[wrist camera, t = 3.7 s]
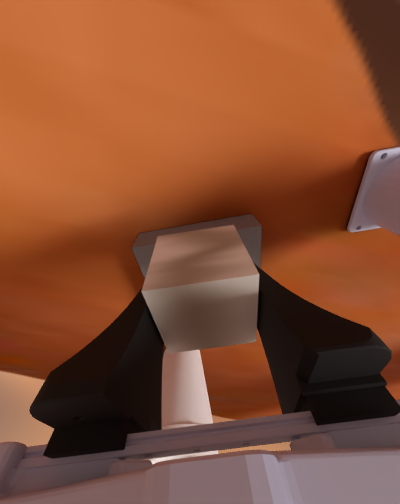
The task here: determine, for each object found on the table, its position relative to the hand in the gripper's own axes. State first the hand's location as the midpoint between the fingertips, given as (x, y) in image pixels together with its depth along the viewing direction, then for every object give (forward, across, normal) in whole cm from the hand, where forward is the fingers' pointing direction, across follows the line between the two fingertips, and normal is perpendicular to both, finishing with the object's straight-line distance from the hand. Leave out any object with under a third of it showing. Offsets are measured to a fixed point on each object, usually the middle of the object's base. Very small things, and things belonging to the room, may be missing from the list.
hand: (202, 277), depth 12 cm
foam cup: (+9, +6, +24) cm, 26 cm away
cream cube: (+2, 0, 0) cm, 2 cm away
